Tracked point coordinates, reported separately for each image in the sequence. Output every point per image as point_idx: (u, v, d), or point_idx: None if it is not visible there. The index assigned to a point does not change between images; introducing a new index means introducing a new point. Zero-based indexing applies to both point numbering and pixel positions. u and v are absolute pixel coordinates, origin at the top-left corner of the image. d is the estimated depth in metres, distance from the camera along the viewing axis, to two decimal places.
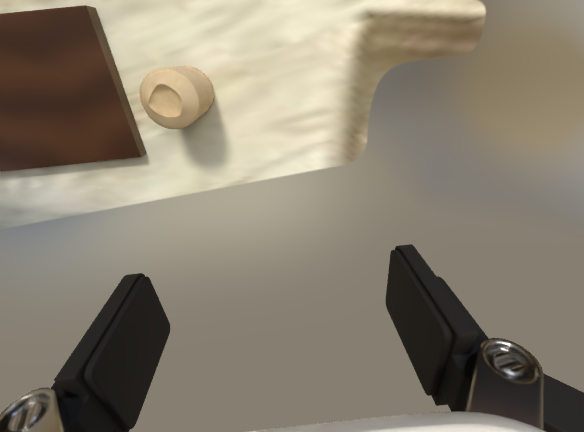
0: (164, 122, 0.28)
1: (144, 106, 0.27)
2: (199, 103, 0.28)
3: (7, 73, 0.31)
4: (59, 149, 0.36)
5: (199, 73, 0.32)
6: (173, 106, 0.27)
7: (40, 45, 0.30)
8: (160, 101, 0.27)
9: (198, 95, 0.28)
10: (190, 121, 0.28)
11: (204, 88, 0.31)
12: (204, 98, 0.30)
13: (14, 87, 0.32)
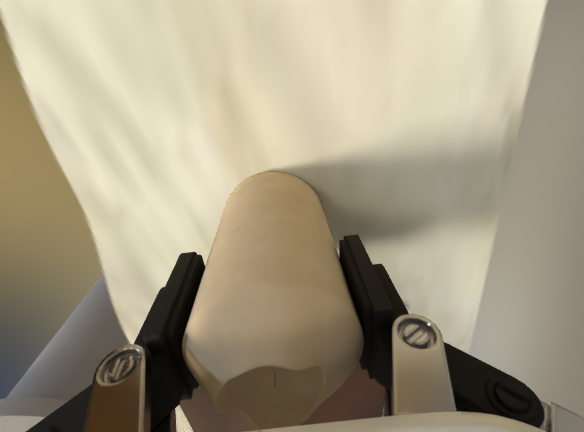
0: (340, 383, 0.09)
1: None
2: (284, 279, 0.08)
3: (256, 426, 0.24)
4: (360, 406, 0.23)
5: (227, 210, 0.13)
6: None
7: None
8: (275, 389, 0.08)
9: (257, 275, 0.08)
10: (344, 317, 0.08)
11: (253, 218, 0.11)
12: (276, 230, 0.10)
13: None
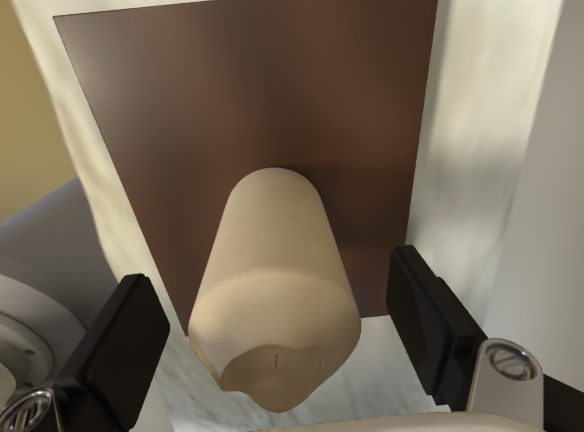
0: (338, 366, 0.09)
1: None
2: (285, 264, 0.08)
3: None
4: (378, 194, 0.16)
5: (230, 203, 0.13)
6: None
7: (170, 156, 0.15)
8: (277, 371, 0.09)
9: (260, 261, 0.08)
10: (342, 301, 0.08)
11: (255, 210, 0.11)
12: (278, 221, 0.10)
13: None
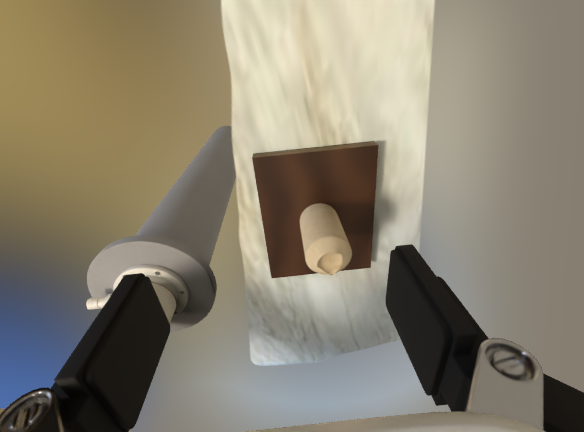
0: (345, 263, 0.33)
1: None
2: (332, 235, 0.32)
3: None
4: (360, 213, 0.40)
5: (306, 217, 0.37)
6: (333, 256, 0.32)
7: (281, 199, 0.39)
8: (329, 264, 0.33)
9: (326, 234, 0.32)
10: (346, 244, 0.32)
11: (319, 220, 0.35)
12: (327, 224, 0.34)
13: None
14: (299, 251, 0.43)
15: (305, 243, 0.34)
